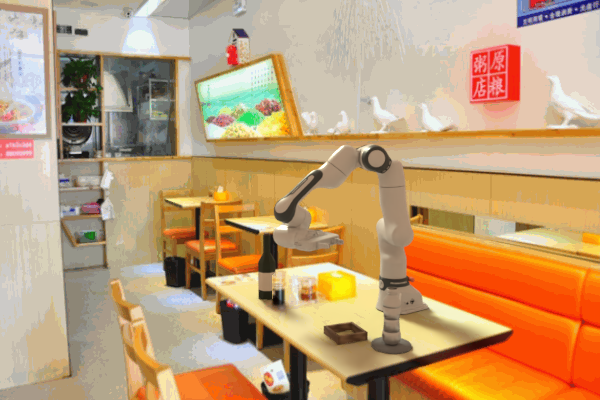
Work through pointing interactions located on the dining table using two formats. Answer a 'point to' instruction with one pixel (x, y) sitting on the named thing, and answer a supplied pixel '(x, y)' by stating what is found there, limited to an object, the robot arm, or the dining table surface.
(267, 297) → the wine bottle
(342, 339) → the bottle holder
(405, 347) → the serving mat
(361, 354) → the dining table surface
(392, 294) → the plastic bottle
